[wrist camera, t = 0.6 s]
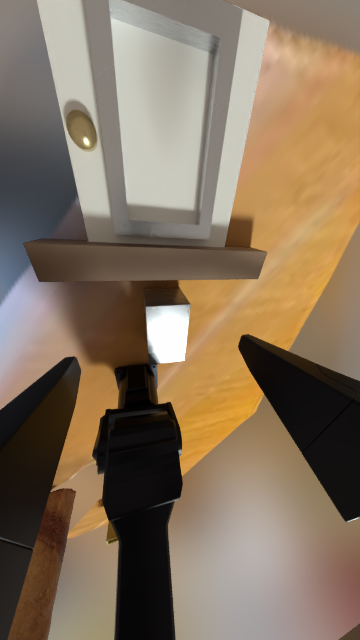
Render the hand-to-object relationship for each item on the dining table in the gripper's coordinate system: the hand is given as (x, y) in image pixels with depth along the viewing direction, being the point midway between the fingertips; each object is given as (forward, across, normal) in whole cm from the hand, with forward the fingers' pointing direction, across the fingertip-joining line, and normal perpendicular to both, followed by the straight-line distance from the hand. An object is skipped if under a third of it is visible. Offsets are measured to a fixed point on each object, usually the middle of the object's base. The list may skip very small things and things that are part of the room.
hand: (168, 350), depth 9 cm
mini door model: (+12, -2, -11) cm, 17 cm away
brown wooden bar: (+12, -2, -3) cm, 13 cm away
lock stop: (+13, -2, +5) cm, 14 cm away
